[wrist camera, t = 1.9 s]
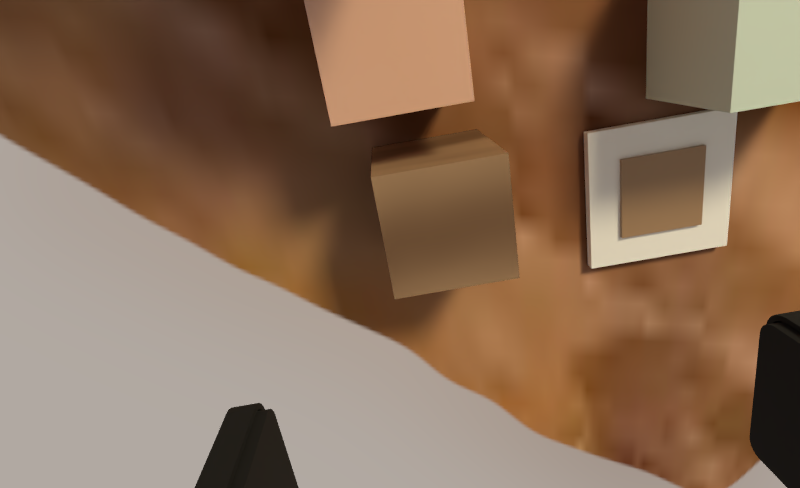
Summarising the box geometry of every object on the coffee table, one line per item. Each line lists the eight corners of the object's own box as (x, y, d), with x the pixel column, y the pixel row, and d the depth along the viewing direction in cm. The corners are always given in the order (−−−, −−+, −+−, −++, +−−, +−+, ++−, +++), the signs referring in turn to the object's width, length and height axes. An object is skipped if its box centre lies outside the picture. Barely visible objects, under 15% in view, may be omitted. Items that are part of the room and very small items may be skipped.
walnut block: (372, 147, 23) (370, 177, 18) (476, 129, 23) (508, 153, 18) (390, 244, 25) (394, 299, 20) (487, 227, 25) (519, 277, 19)
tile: (583, 131, 23) (589, 134, 23) (730, 105, 23) (741, 107, 23) (587, 264, 26) (593, 270, 25) (720, 241, 26) (729, 246, 25)
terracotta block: (317, -12, 21) (296, -37, 15) (434, -34, 21) (456, -66, 15) (342, 108, 23) (331, 126, 17) (449, 89, 22) (474, 100, 17)
